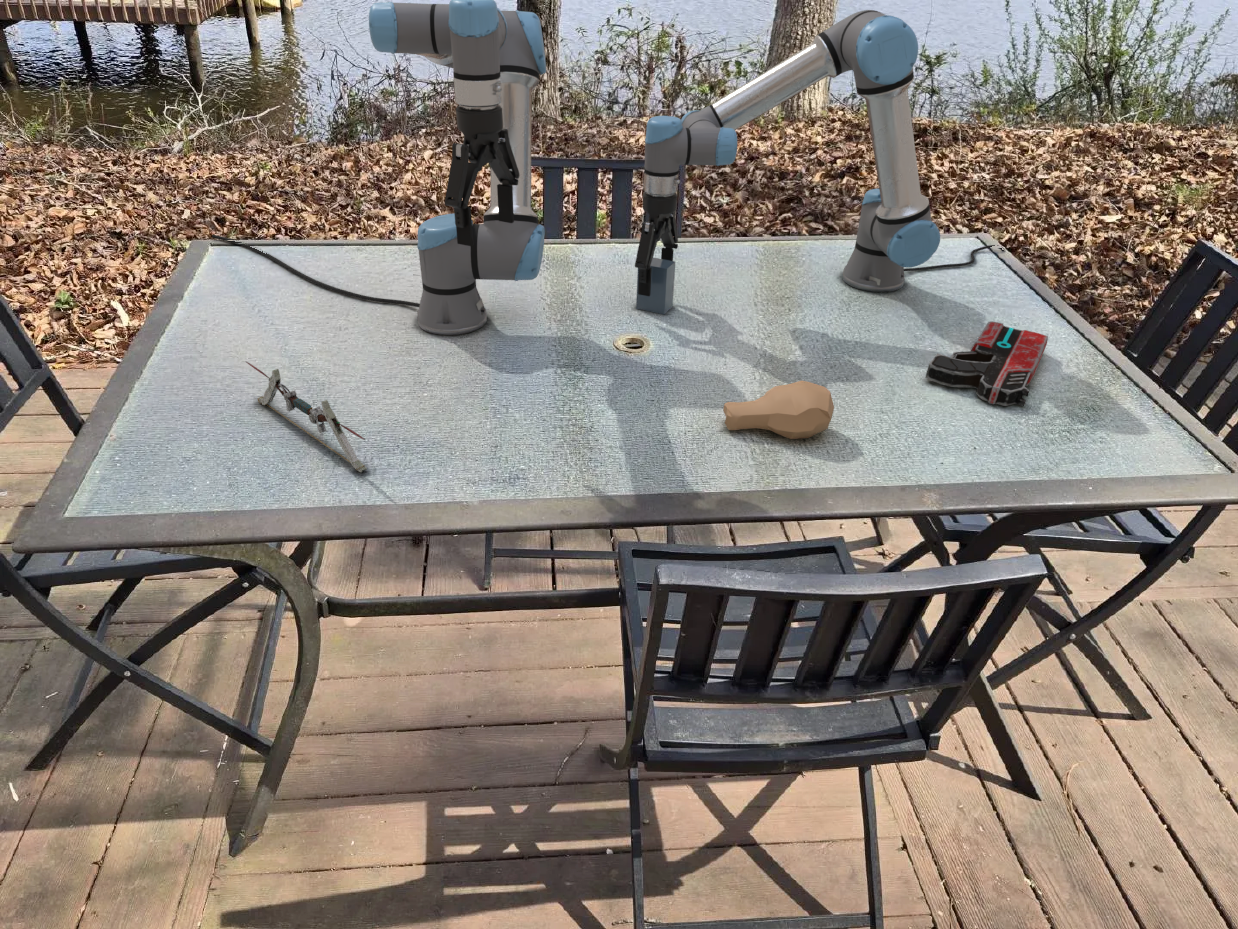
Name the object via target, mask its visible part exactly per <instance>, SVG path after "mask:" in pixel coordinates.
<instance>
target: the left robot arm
mask: <svg viewBox="0 0 1238 929" xmlns="http://www.w3.org/2000/svg"><path fill="white" fill-rule="evenodd" d="M369 8H370V9H369V12H368V29H369V36H370V41H371V44H372V46H373V48H374V49H375V51H377V52H379V53H388V54H392V55H394V54H407V55H409V54H410V55H417V56H420V57H421V56H423V57H425V58H426V59H427V60H428V61H430V62H431V63H433V64H435V65H439V66H443V67H447V68H449V69H453V91H454V92H453V94H454V103H456V104H457V106H456V108H455V116H456V128H457V130H458V131H459V132H461V133H462V135H463V142H462V143H457V142H453V143H452V145H451V163H450V169H449V174H448V178H447V179H448V180H447V185H446V192H445V197H444V205H445V206H447V207H452V208H453V213H447V214H441V215H437V216H433V217H431V218H428V219H427V220H424V221H423V222H422V223H421V224H420V225H419V226H418V229H417V247H416V248H417V250H418V258H419V259H418V260H419V267H420V275H421V276H420V278H421V284H422V292H421V297H420V302H419V303H418V302H413V301H408V300H401V299H392V298H391V299H390V298H383V297H382V298H381V297H374V296H369V295H363V294H359V293H355V292H352V291H349V290H345V289H342V288H339V287H335V286H332V285H329V284H327V283H325V282H322V281H319V280H317V279H315V278H313V277H310V276H309V275H306V274H304V273H303V272H301V271H299V270H297V269H295V268H293V267H292V266H290V265H288V264H287V263H285V262H284V261H282V260H280V259H278V258H277V257H275V256H274V255H272V254H270V253H268V252H266V254H265V253H263V251H264V250H262V252H261V251H259V250H257V249H255V248H256V247H255V248H252V247H250V246H247V245H245V244H246V243H245V244H240V245H239V246H242V247H244V248H247V249H249V250H251V251H254V252H256V253H258V254H260V255H262V256H264V257H266V258H268V259H270V260H272V261H273V262H275V263H276V264H278V265H279V266H282V267H283V268H285V269H286V270H289V271H290V272H292V273H293V274H295V275H297V276H298V277H300V278H302V279H304V280H306V281H308V282H310V283H313V284H314V285H317V286H319V287H321V288H324V289H327V290H329V291H332V292H336V293H339V294H341V295H346V296H349V297H352V298H357V299H359V300H360V299H361V300H364V301H370V302H376V303H385V304H394V305H396V304H397V305H403V306H409V307H414V308H418V310H417V317H416V318H417V325H418V326H419V328H420V329H421V330H423V331H424V332H427V333H430V334H433V335H440V336H459V335H465V334H469V333H473V332H476V331H477V330H480V329H481V328H483V327H484V326H485V325H486V323H487V320H488V316H487V310H486V306H485V304H484V302H483V299H482V298H481V295H480V293H479V291H478V288H477V280H483V281H484V280H489V281H490V280H491V281H493V280H494V281H514V282H518V281H533V280H535V279H536V278H537V277H538V276H539V273H540V271H541V266H542V260H543V256H544V255H543V254H544V248H545V234H546V228H545V226H544V225H542V224H539V215H537V214H536V212H535V211H534V210H533V208H532V114H533V112H532V110H533V109H532V106H533V104H532V103H533V102H532V100H533V98H532V97H533V96H532V95H533V94H532V93H533V90H535V88H536V87H537V86H539V85H540V76H543V75H544V74H546V73H547V63H546V53H545V45H544V38H543V36H544V35H543V31H542V22H541V20H540V17H539V15H537V14H536V13H535V12H533V11H523V10H518V9H515V10H501V9H500V8H499V7H498V5H497V2H496V1H495V0H450V1H449V3H416V2H415V3H414V2H393V1H388V2H375V3H374V2H373V4H371V6H370V7H369ZM487 164H488V165H489V168H490V207H489V208H488V209H487V210H486V211H485V213H483V218H482V220H483V223H474V221H473V219H472V207H471V206H468V205H469V203H470V198H471V196H472V193H473V189H474V186H475V183H476V180H477V177H478V174H479V172H481V171H482V170H483V167H485V166H486V165H487ZM211 238H212V239H215V240H220V241H224V240H234V239H232V238H229V237H225V236H221V235H217V234H211ZM227 242H228V243H231V244H235V243H242V241H240V242H235V241H227ZM267 253H268V254H267Z"/></svg>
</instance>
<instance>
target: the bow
mask: <svg viewBox="0 0 1238 929" xmlns="http://www.w3.org/2000/svg"><path fill="white" fill-rule="evenodd" d="M244 362H245V363H246V364H248V365H249V366H250V367H252V368H253V369H254V370H256V371H257V372H258V373H259V374H262V375H263V376H265V377H266V378H267V379H268V387H267V388H266V389H265V391H264V392H263V396H260V397H258V398H257V399H256V400H257V402H258V403H259V404H260V405H262V406H267V407H269V408H270V409H271V410H273V411H275V412H276V413H277V414H279V415H280V416H282V417H283V418H285V419H286V420H287V421H289V422H290V423H291V424H293V425H295V426H296V427H298V429H300V430H302V431H303V432H305V433H307V434H308V435H309V436H311V437H312V438H314V439H315V440H316V441H318V442H319V443H321V444H322V445H323V446H325V447H326V448H328V449H330V450H331V451H332V452H333V453H335V454H337V455H338V456H339V457H341V458H343V459H344V460H345V461H347V462H348V463H350V464H351V466H352V467H353V468H354V469H355V471H357V472H359V473H362V472H363V471H367V469H368V468H367V467H366V465H365V464H364V463H362V461H361V460H360V459H359V458H358V455H357V454H356V452H355V450H354V449H353V447H352V445H351V443H350V442H349V439H348V437H347V436H346V435H345V432H344V430H343V429H345V430H347V431H348V432H350V433H351V434H352V435H355V436H356V437H358V438H360V439H362V440H363V441H364V440H366V438H365V437H363V436H362V435H360V434H359V433H357V432H356V431H354V430H352V429H351V428H349V427H347V426H346V425H343V424H341V422H340V421H339V420H338V418H337V416H336V414H335V413H334V411H333V409H332V407H331V404H330V402H329V400H328V399H325V400H322V401H321V406H319V405H318V406H317V407H314V408H313V406H312V405H311V404H309V403H308V402H306V401H305V400H304V399H302V398H299V396H297V391H296V390H290V389H289V388H288V387H287V386H286V385H285V384H282V383H281V380H282V379H281V373H280V370H279V368H275V369H274V370H272V372H271V376H270V377H269V376H268V375H267V374H266V373H265V372H264V371H262V370H260V369H259V368H258V367H256V366H255V365H253V364H251V363H250V362H249V361H247V360H244ZM278 391H279V393H280V394H281V395H282V396H283V399H284V401H285V403H286V404H285V407H286V411H287V412H288V413H290V412H291V411H295V410H296V409H297V410H299V411H300V412H302V413H303V414H305V415H307V416H308V419H309V421H310V423H311V424H313V425H316V428H317V432H318V433H319V434H323V433H325V432H327V429H326V428H327V427H326V424H325V423H328V425H329V426H330V428H331V430H332V432H333V434H334V436H335V439H336V440H337V442H338V444H339V446H340V447H341V449H342V451H343V453H344V455H345V456H346V457H345V456H343V455H342V454H340V453H339V452H337V451H336V450H335V449H333V448H332V447H331V446H329V445H327V444H326V443H325V442H323V441H322V440H320V439H319V438H317V437H316V436H314V435H312V434H311V433H310V432H308V431H307V430H305V428H303V427H301V426H300V425H298V424H297V423H295V422H294V421H293V420H291V419H290V418H288V417H287V416H286V415H285V414H284V415H283V414H282V413H281V412H279V410H276V408H273V407H272V406H271V405H269V404H271V403H272V402H273V401H274V398H275V397H276V394H277V392H278Z"/></svg>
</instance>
